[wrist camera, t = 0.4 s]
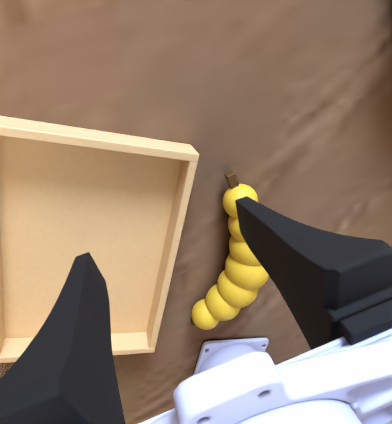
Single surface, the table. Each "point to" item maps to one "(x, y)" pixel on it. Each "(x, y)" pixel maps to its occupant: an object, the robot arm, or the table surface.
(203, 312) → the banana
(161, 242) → the tray
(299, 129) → the table surface
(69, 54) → the table surface
